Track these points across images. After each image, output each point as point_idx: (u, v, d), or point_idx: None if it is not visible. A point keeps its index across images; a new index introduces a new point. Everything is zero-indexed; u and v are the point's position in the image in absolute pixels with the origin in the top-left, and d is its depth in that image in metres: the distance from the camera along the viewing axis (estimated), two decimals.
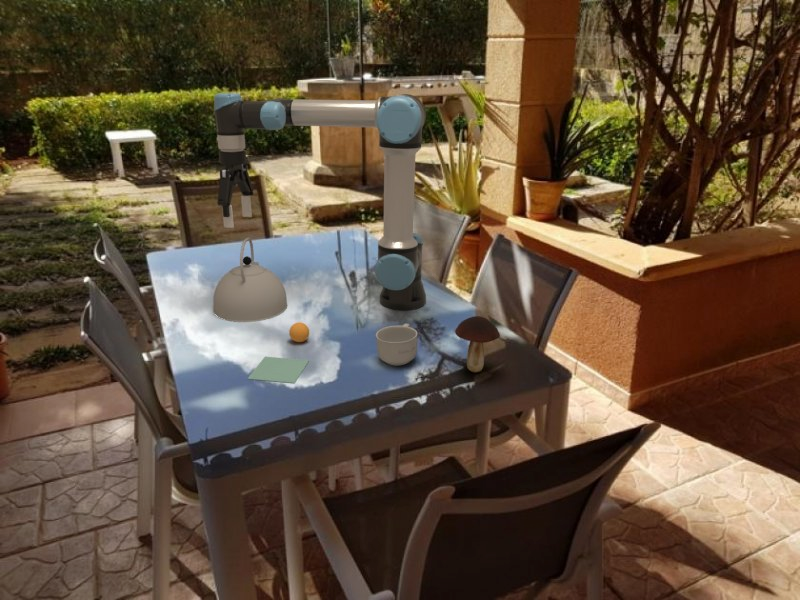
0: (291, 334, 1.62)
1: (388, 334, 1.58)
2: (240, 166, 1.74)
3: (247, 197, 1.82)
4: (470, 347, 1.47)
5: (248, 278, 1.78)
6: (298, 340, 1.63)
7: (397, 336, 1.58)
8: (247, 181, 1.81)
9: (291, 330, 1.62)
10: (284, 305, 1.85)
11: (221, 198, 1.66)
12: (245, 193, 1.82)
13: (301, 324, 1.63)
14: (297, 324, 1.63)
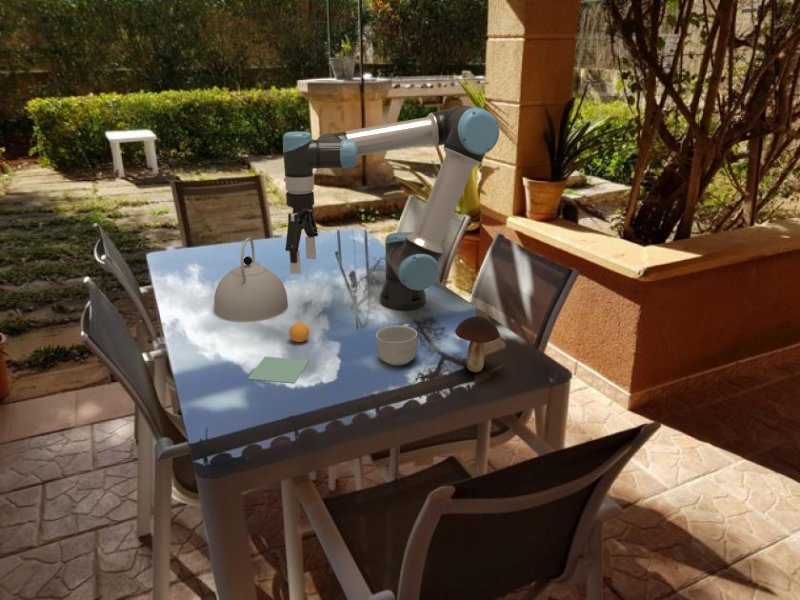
0: (291, 334, 1.62)
1: (388, 334, 1.58)
2: (307, 207, 1.64)
3: (312, 239, 1.72)
4: (470, 347, 1.47)
5: (249, 278, 1.78)
6: (298, 340, 1.63)
7: (397, 336, 1.58)
8: (312, 222, 1.71)
9: (291, 330, 1.62)
10: (285, 305, 1.85)
11: (289, 244, 1.56)
12: (309, 234, 1.72)
13: (301, 324, 1.63)
14: (297, 324, 1.63)
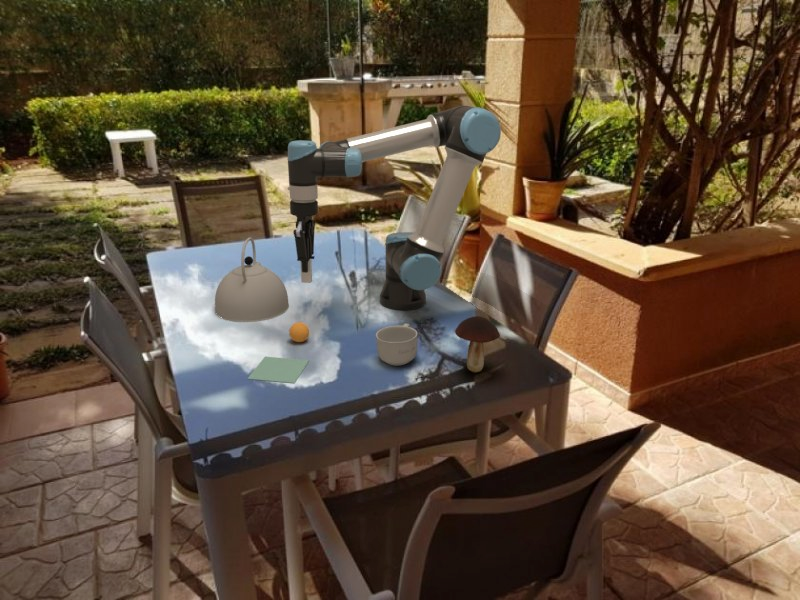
0: (291, 334, 1.62)
1: (388, 334, 1.58)
2: None
3: None
4: (470, 347, 1.47)
5: (249, 278, 1.78)
6: (298, 340, 1.63)
7: (397, 336, 1.58)
8: (311, 239, 1.68)
9: (291, 330, 1.62)
10: (286, 305, 1.85)
11: (300, 256, 1.62)
12: None
13: (301, 324, 1.63)
14: (297, 324, 1.63)
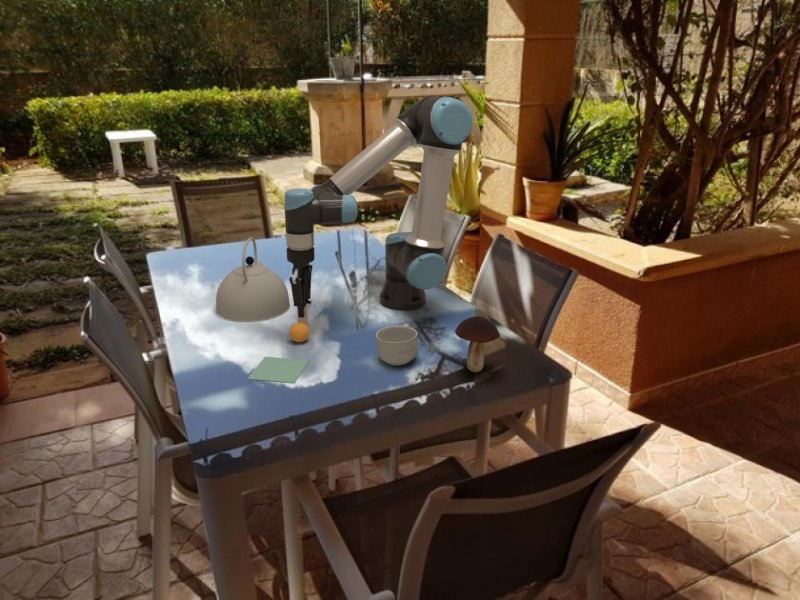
0: (291, 334, 1.62)
1: (388, 334, 1.58)
2: None
3: None
4: (470, 347, 1.47)
5: (250, 278, 1.78)
6: (298, 340, 1.63)
7: (397, 336, 1.58)
8: (308, 284, 1.68)
9: (291, 330, 1.62)
10: (286, 305, 1.85)
11: (296, 302, 1.63)
12: None
13: (301, 324, 1.63)
14: (297, 324, 1.63)
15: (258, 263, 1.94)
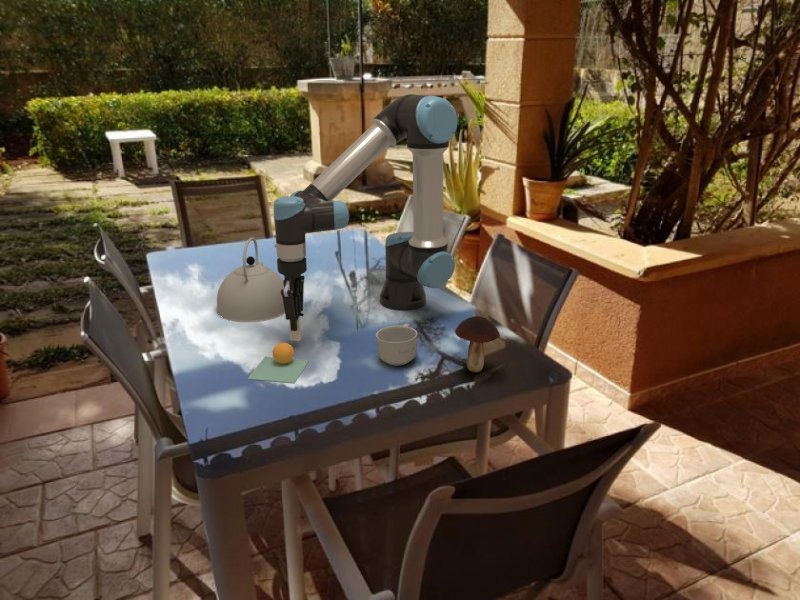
0: (277, 344, 1.52)
1: (388, 334, 1.58)
2: None
3: (297, 319, 1.60)
4: (470, 347, 1.47)
5: (251, 278, 1.78)
6: (283, 346, 1.50)
7: (397, 336, 1.58)
8: (300, 296, 1.61)
9: None
10: None
11: (288, 315, 1.55)
12: None
13: None
14: None
15: (259, 263, 1.94)
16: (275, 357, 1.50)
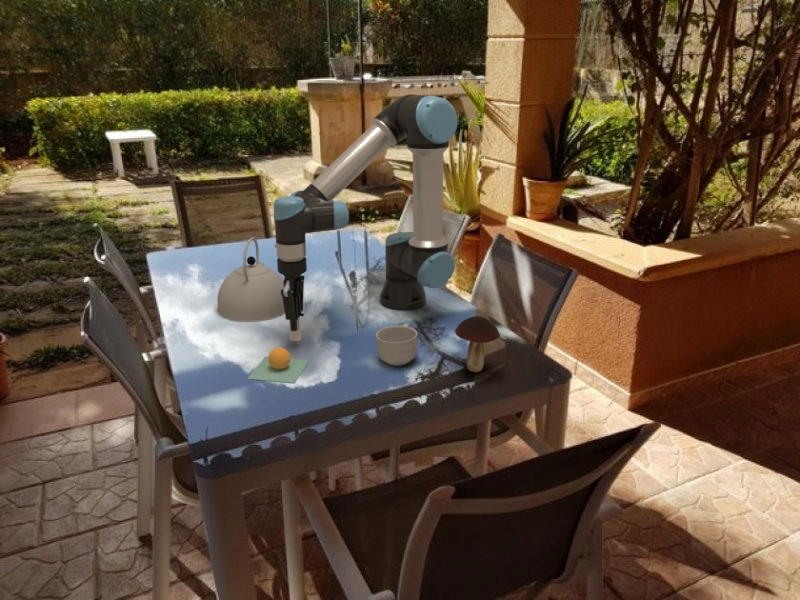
0: (270, 356, 1.48)
1: (388, 334, 1.58)
2: None
3: (297, 319, 1.60)
4: (470, 347, 1.47)
5: (251, 278, 1.78)
6: (277, 363, 1.47)
7: (397, 336, 1.58)
8: (300, 296, 1.61)
9: (271, 352, 1.48)
10: None
11: (288, 315, 1.55)
12: None
13: (283, 348, 1.50)
14: None
15: (260, 263, 1.94)
16: None
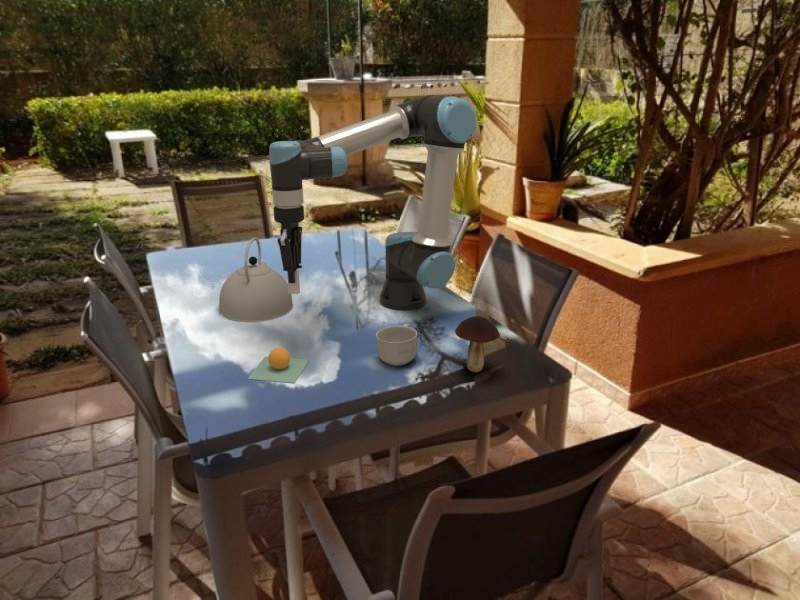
0: (270, 356, 1.48)
1: (388, 334, 1.58)
2: None
3: None
4: (470, 347, 1.47)
5: (253, 278, 1.78)
6: (277, 363, 1.47)
7: (397, 336, 1.58)
8: (298, 247, 1.56)
9: (271, 352, 1.48)
10: (289, 306, 1.85)
11: (286, 266, 1.50)
12: None
13: (283, 348, 1.50)
14: None
15: (262, 263, 1.94)
16: None
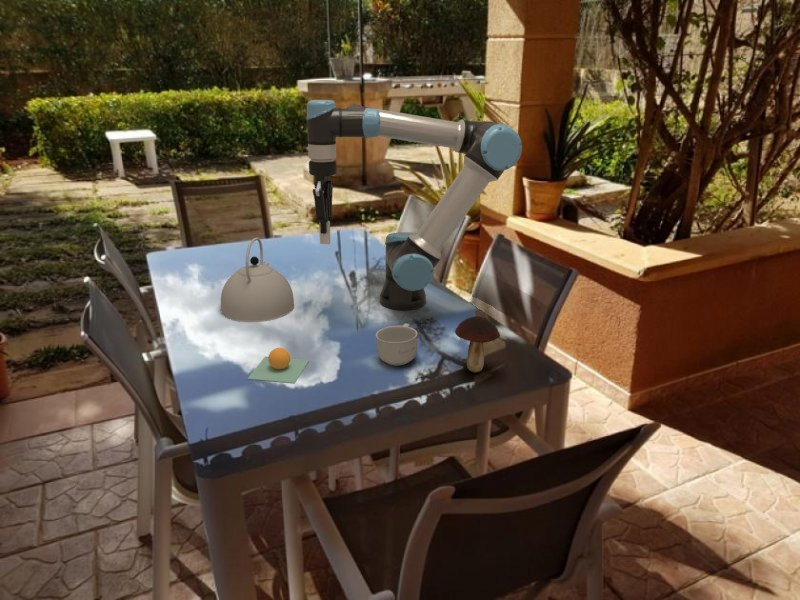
0: (270, 356, 1.48)
1: (388, 334, 1.58)
2: (329, 175, 1.65)
3: None
4: (470, 347, 1.47)
5: (254, 278, 1.78)
6: (277, 363, 1.47)
7: (397, 336, 1.58)
8: (329, 201, 1.68)
9: (271, 352, 1.48)
10: (290, 306, 1.85)
11: (319, 216, 1.63)
12: None
13: (283, 348, 1.50)
14: None
15: (264, 263, 1.94)
16: None
